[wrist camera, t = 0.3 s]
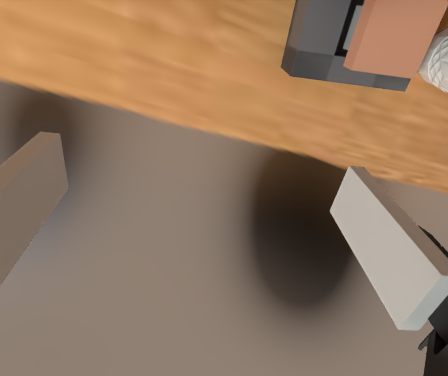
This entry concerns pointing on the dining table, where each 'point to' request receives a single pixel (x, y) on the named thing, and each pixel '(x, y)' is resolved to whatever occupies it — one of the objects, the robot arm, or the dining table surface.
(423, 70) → the white cup
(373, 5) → the salmon orange cube
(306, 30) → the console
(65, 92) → the dining table surface
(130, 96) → the dining table surface
